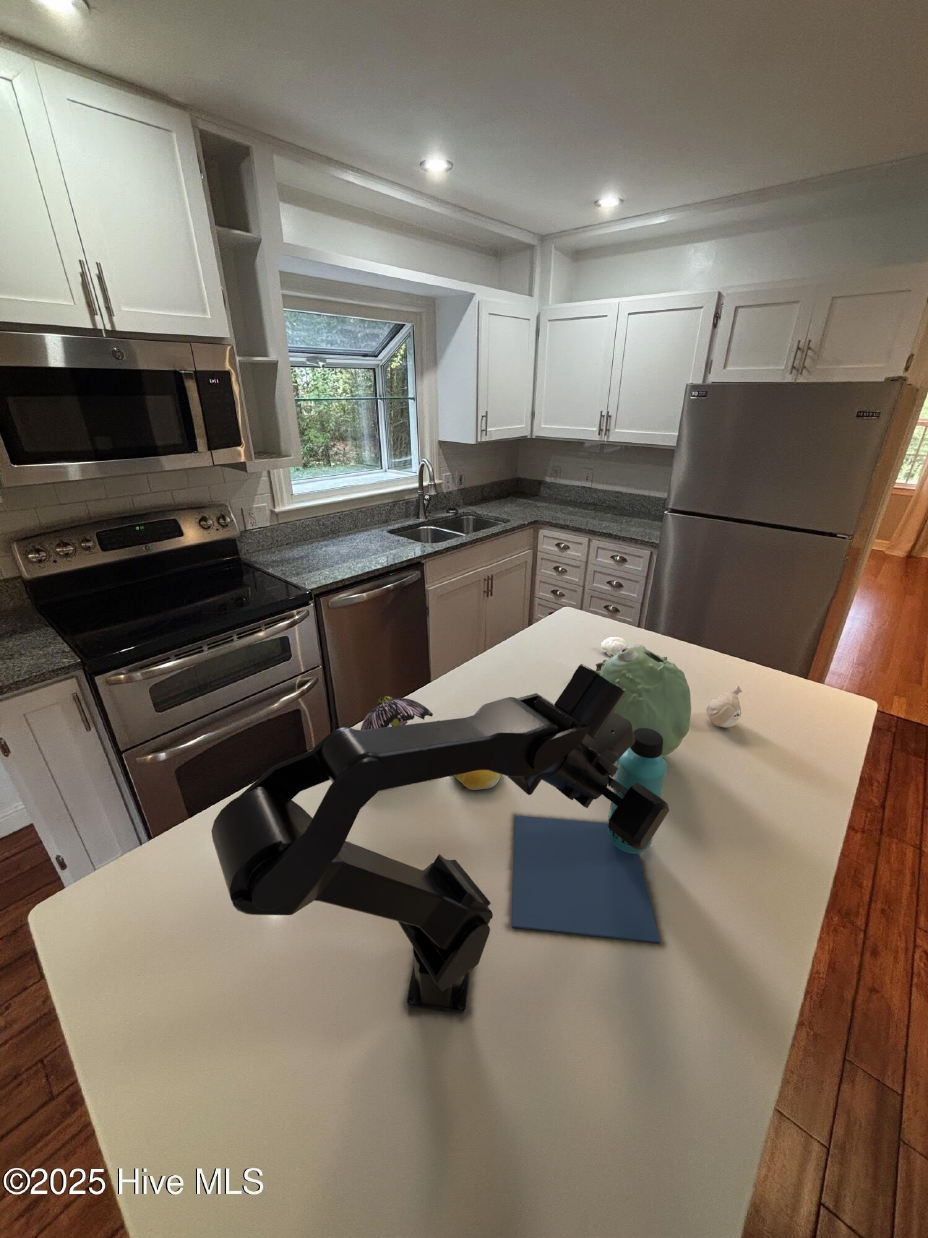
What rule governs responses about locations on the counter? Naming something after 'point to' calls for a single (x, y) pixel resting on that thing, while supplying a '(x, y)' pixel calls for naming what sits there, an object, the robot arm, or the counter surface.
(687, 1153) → the counter surface
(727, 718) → the garlic bulb
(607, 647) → the dumpling
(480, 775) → the bread roll
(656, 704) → the cabbage
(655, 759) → the beverage bottle
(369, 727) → the decorative flower
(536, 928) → the cloth
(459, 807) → the counter surface
